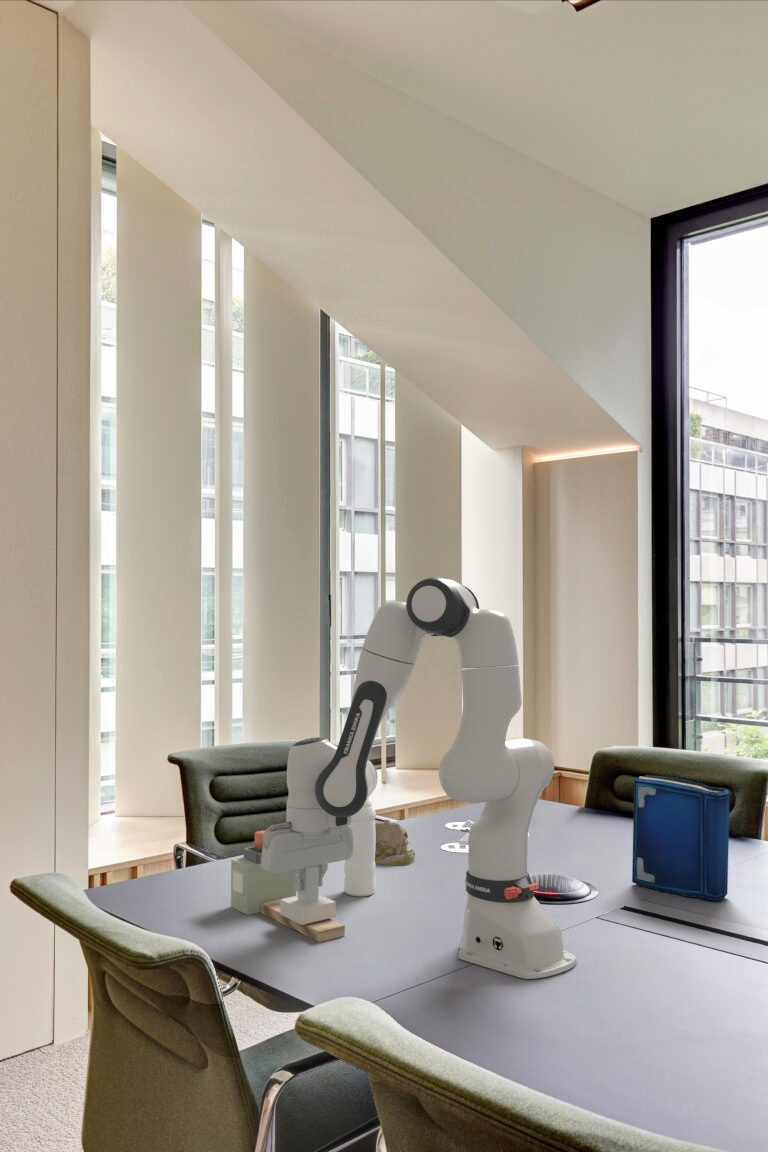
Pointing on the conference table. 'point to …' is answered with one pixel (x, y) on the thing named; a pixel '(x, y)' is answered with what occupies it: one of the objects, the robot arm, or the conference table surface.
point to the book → (681, 837)
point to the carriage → (308, 900)
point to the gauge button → (259, 839)
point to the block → (313, 930)
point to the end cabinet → (256, 883)
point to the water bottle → (362, 853)
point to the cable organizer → (464, 838)
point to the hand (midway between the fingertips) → (308, 888)
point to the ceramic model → (392, 844)
